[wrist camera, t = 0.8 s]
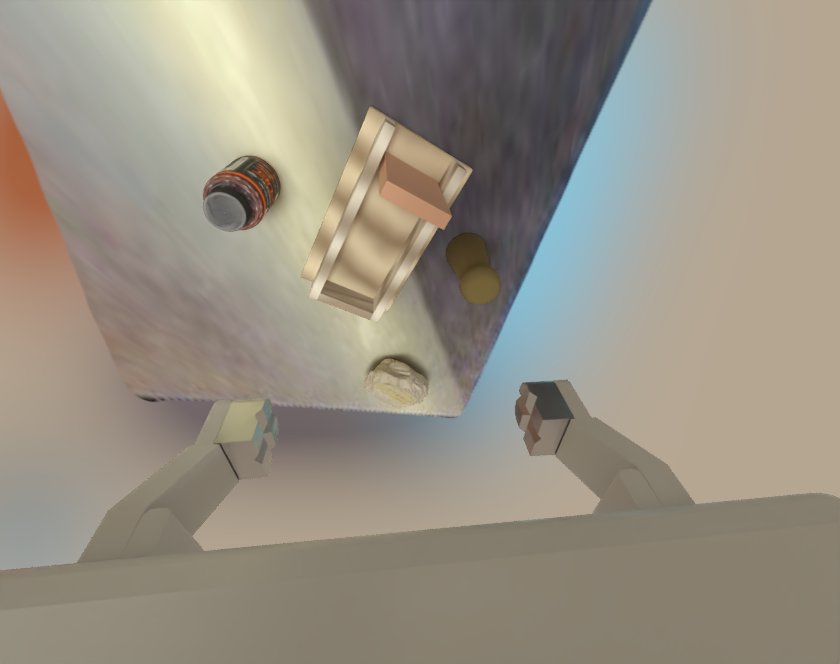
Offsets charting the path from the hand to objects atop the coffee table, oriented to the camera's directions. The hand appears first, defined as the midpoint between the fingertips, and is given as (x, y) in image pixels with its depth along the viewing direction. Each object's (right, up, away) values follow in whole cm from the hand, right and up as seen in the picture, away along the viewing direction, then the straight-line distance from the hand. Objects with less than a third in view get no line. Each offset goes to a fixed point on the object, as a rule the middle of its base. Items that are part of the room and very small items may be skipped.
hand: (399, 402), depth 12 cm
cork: (+7, +14, +41) cm, 44 cm away
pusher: (-1, +22, +32) cm, 39 cm away
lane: (-5, +17, +37) cm, 41 cm away
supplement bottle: (-20, +21, +32) cm, 43 cm away
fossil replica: (-4, -5, +55) cm, 55 cm away
